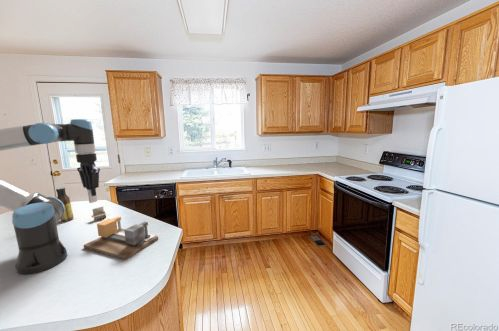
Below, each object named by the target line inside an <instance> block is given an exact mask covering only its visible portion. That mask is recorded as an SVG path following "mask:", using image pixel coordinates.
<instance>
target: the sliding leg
mask: <svg viewBox="0 0 499 331" xmlns="http://www.w3.org/2000/svg"><path fill="white" fill-rule="evenodd" d="M121 221H122V217H121V216H116V217H112V218H111V219H110V218H108V219H106V220H103V221H100V222H97V223H96V227H97V228H96V229H97V234H98V236H99V237H105V238H106V237H108V236H110V235H112V234H114V233H116V232H118V230H121V228H122V224H121ZM117 229H118V230H117Z"/></svg>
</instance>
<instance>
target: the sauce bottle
mask: <svg viewBox="0 0 499 331" xmlns="http://www.w3.org/2000/svg"><path fill="white" fill-rule="evenodd" d="M55 191H56V195H57V197H56V198H57V199H59V200H60V201H61V202H62V203H63V204H64V208H65V209H64V214H63V216H62V218H61V219H60V220H59V221H61V222H62V223H63V222H70V221H72V220H74V212H73V206H72V202H71V200H70V196H68V195H67V193H66V188H65V187H64V186H63V187H58V188H56V189H55Z"/></svg>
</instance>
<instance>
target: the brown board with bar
mask: <svg viewBox="0 0 499 331" xmlns="http://www.w3.org/2000/svg"><path fill="white" fill-rule="evenodd" d="M148 226H149V222H148V221H143V222H141V223H139V224H137V223H136V224H133V225H131V226H130V227H127V228H122V227H121V230H118V228H117V230H118V232H116V233H114V234H112V235H110V236H108V237H106V238H105V237H101V236H99V237H98V238H96V239H94V240H91V241H90V242H87V243H85V244H83V248H84V249H86V250H88V251H93V252H96V253H100V254H103V255H107V256H111V257H114V258H117V259H119V260H125V261H126V260H128V259H129V258H131V257H132V256H133V255H135V254H137V253H139V252H140V251H142V250H144V249H145V248H146V247H149V245H152V244H153V243H154V242H157V241H158V240H159V236H157V234H153V233H149V232H148Z"/></svg>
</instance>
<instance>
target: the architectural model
mask: <svg viewBox="0 0 499 331" xmlns="http://www.w3.org/2000/svg"><path fill="white" fill-rule="evenodd" d="M90 217H91V218H93V221H96V220H97V221H98V220H100V218H101V220H103V219H104V218H105V219H106V218H107V212H106V211H105V210H104V206H100V207H96V208H92V215H90Z"/></svg>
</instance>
